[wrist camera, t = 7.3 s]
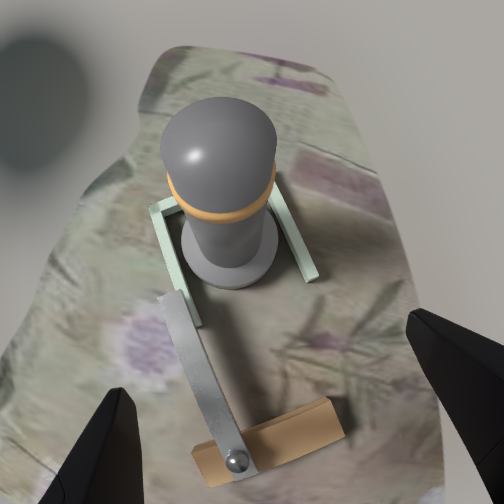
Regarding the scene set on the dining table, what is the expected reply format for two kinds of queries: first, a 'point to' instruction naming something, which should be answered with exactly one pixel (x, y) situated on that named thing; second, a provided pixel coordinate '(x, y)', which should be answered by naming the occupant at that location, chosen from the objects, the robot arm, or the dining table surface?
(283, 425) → the latch rail
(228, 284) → the plug
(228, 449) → the lever
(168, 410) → the dining table surface
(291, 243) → the pale green u-shaped bracket
